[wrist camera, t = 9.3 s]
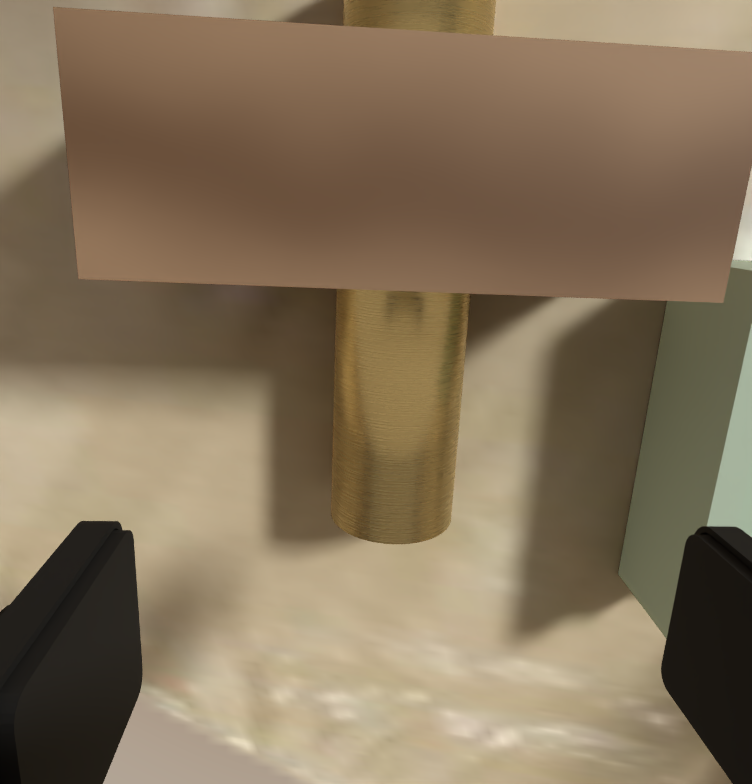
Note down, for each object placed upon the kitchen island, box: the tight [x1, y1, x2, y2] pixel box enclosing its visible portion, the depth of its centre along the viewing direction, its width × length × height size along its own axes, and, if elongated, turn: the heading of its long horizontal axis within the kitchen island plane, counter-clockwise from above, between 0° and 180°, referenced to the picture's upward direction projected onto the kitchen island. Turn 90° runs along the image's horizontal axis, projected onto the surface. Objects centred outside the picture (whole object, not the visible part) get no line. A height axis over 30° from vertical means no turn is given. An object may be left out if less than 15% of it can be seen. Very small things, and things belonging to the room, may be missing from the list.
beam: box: [53, 7, 752, 303], centre depth 16 cm, size 5×14×7 cm, turn 87°
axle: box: [331, 0, 496, 544], centre depth 19 cm, size 16×4×4 cm, turn 178°
